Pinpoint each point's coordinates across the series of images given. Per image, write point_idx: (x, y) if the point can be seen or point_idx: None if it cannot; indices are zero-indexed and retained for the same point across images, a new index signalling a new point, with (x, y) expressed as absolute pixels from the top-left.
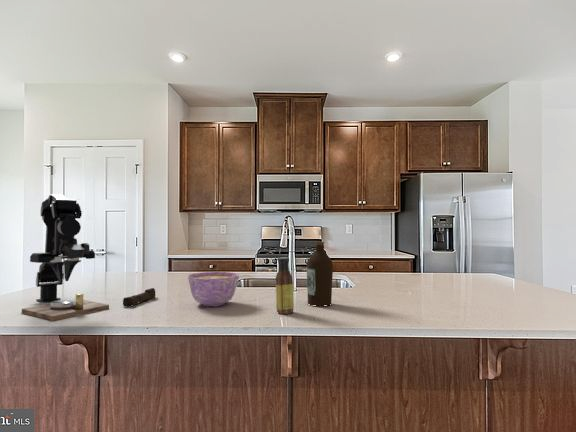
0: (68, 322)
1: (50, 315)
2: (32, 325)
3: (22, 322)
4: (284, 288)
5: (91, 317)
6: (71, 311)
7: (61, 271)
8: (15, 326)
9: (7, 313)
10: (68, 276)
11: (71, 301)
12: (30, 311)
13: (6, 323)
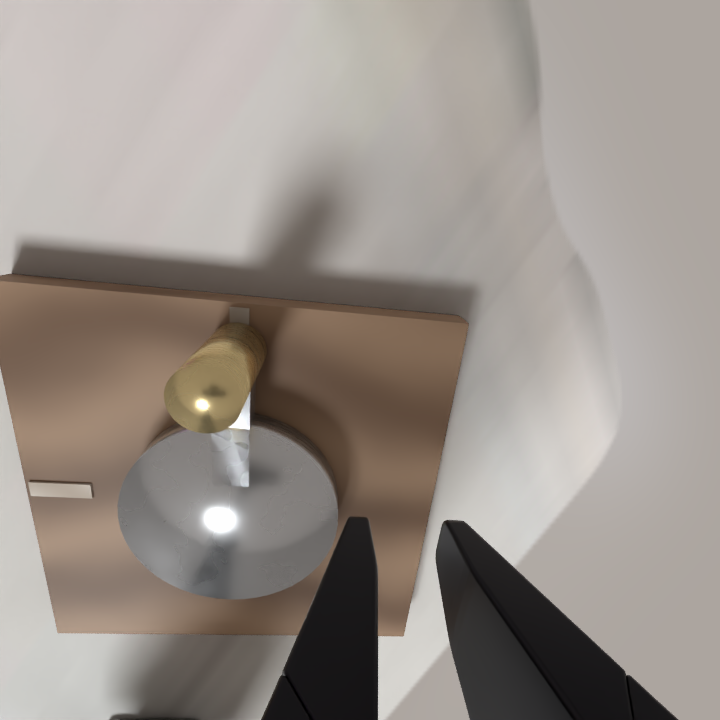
0: (448, 168)
1: (459, 353)
2: (576, 320)
3: (540, 433)
4: None
5: (270, 137)
6: (314, 335)
7: (604, 706)
8: (616, 384)
9: (432, 649)
10: (362, 570)
11: (201, 506)
12: (418, 557)
13: (578, 480)
